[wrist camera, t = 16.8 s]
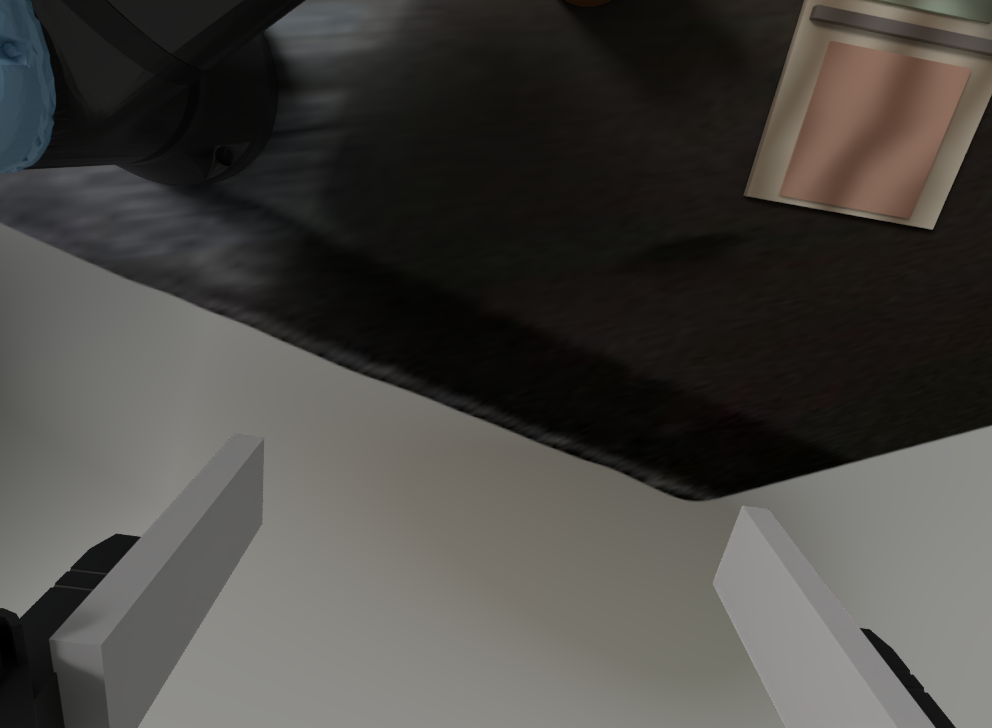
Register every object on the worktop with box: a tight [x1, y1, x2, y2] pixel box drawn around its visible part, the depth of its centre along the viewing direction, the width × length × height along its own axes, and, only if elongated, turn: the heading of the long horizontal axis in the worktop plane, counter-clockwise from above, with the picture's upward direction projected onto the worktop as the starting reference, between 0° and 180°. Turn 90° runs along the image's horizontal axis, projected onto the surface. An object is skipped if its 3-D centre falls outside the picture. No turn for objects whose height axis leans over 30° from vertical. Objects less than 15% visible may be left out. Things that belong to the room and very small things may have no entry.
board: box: [744, 0, 992, 230], centre depth 41 cm, size 16×26×1 cm, turn 170°
